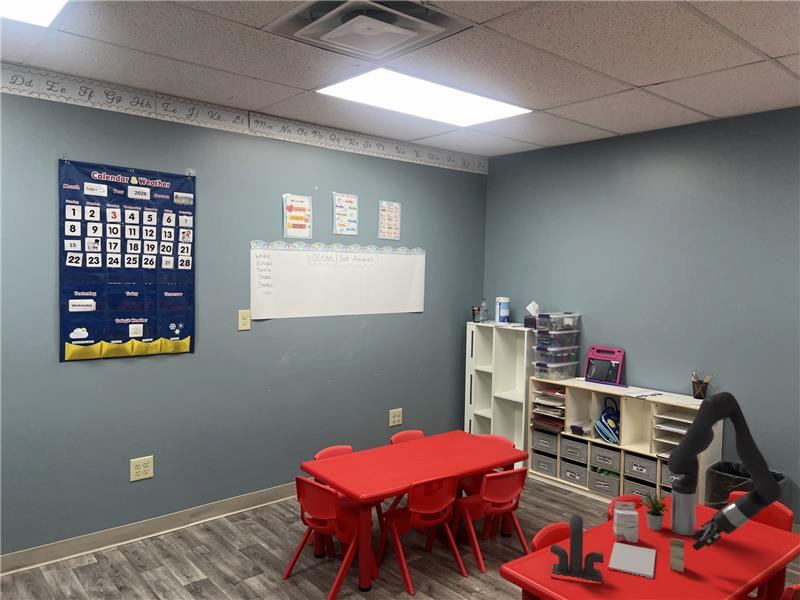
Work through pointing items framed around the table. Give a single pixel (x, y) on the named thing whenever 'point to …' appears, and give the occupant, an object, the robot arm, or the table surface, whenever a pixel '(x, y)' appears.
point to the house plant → (655, 511)
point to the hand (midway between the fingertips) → (694, 543)
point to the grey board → (633, 559)
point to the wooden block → (677, 554)
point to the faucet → (577, 555)
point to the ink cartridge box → (625, 522)
